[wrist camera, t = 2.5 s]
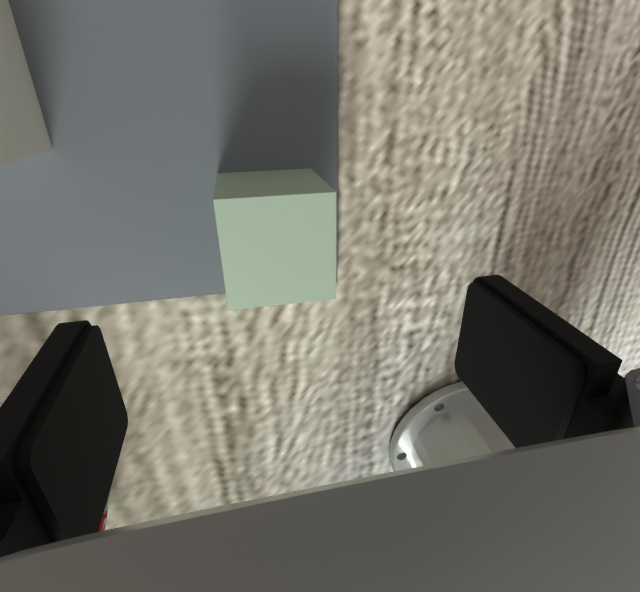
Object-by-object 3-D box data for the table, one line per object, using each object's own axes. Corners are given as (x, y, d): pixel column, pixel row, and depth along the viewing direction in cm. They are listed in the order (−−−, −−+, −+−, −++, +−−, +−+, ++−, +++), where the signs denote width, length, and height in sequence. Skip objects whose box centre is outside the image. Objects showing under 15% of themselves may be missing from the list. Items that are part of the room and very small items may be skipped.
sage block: (310, 168, 22) (336, 191, 17) (313, 254, 24) (336, 298, 19) (217, 173, 21) (213, 199, 16) (228, 261, 24) (228, 310, 18)
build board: (332, -61, 19) (382, -135, 13) (333, 275, 26) (365, 330, 20) (-243, -86, 15) (-566, -207, 9) (-49, 312, 23) (-150, 394, 17)
